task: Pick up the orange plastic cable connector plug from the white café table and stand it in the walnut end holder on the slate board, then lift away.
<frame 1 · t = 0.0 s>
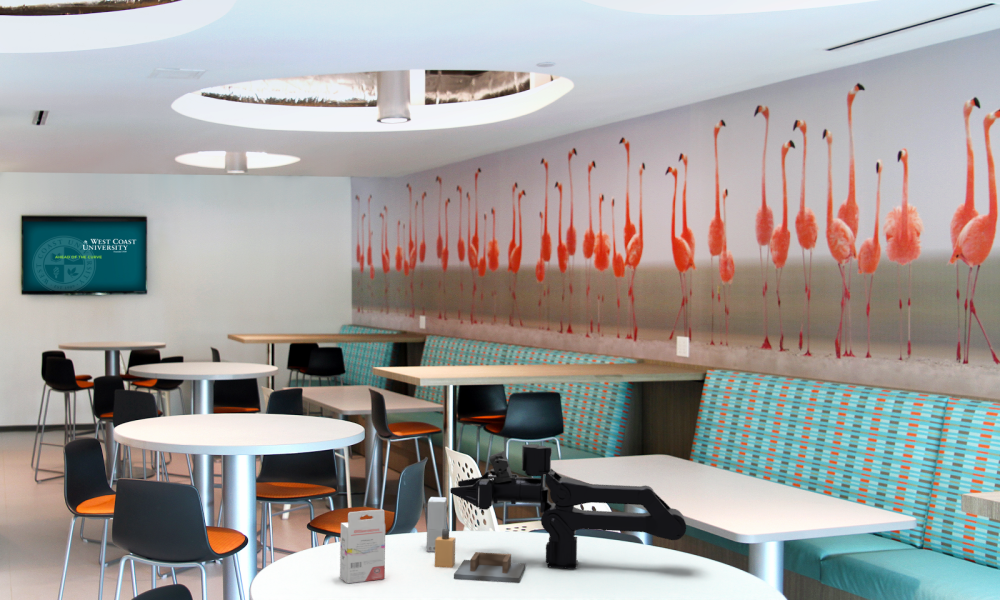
hand: (454, 486, 208), 17 cm above the table, tool horizontal, fingers open, 9 cm apart
connector plug: (444, 565, 202), on the table
skincare box: (436, 550, 216), on the table
end holder: (490, 573, 196), on the table
ink cartridge box: (361, 579, 190), on the table
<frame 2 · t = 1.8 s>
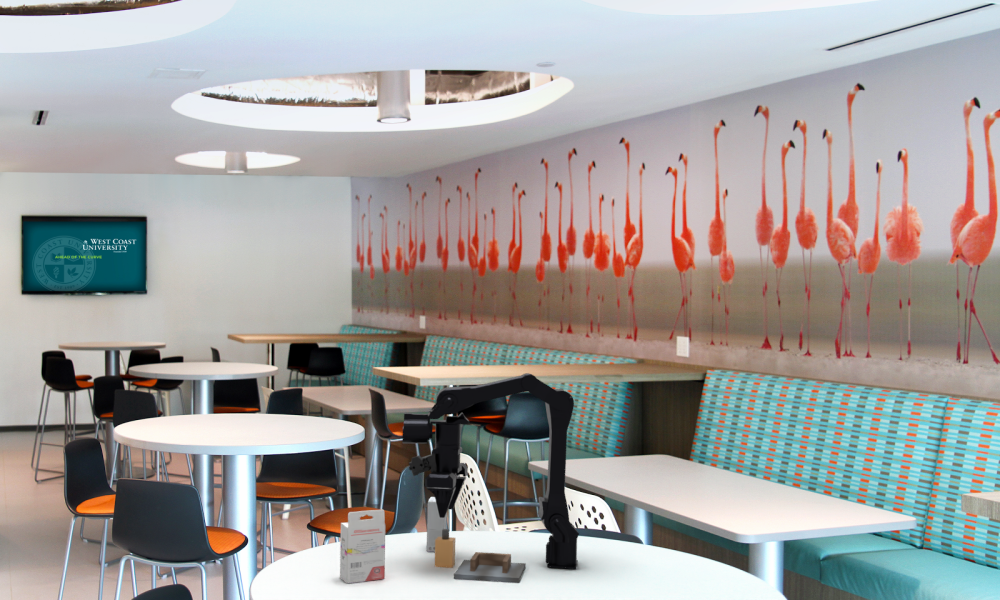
hand: (446, 513, 202), 12 cm above the table, tool pointing down, fingers open, 9 cm apart
nothing on the table moved.
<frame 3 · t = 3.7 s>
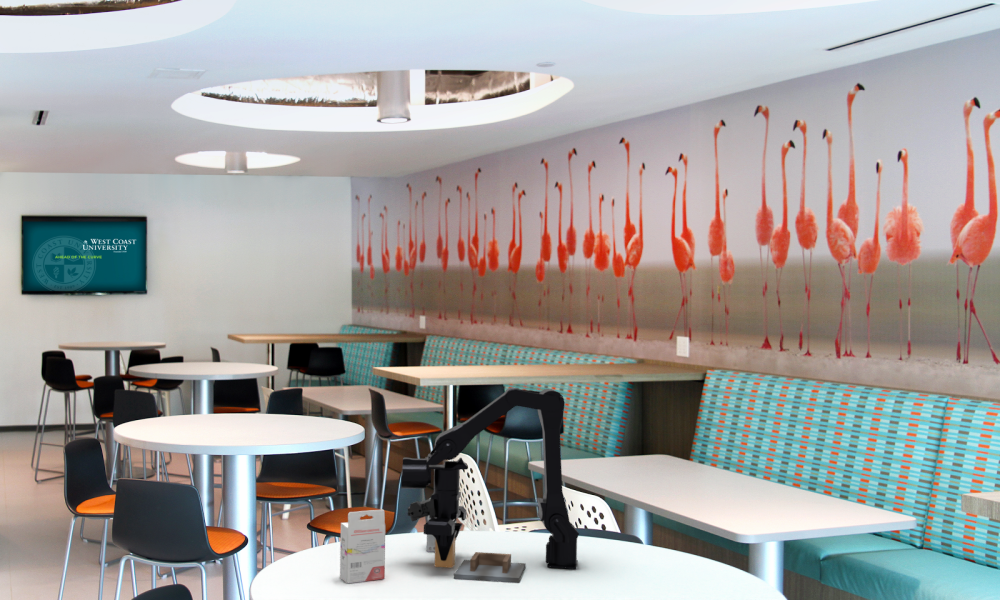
hand: (445, 558, 202), 2 cm above the table, tool pointing down, fingers closed on connector plug, 3 cm apart
connector plug: (444, 565, 202), on the table, touching gripper
everything else where it was.
when the fingers open (4 cm above the table, at t = 8.0 s): connector plug drops 2 cm, resting on end holder.
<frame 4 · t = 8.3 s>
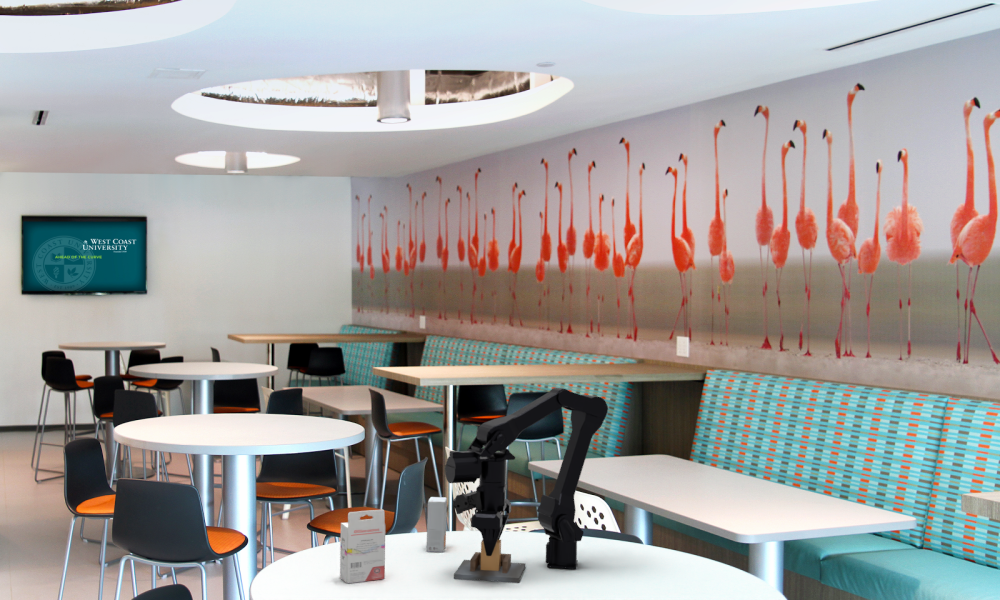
hand: (491, 552, 196), 4 cm above the table, tool pointing down, fingers open, 6 cm apart
connector plug: (490, 568, 196), point 1 cm above the table, touching end holder
everything else where it was.
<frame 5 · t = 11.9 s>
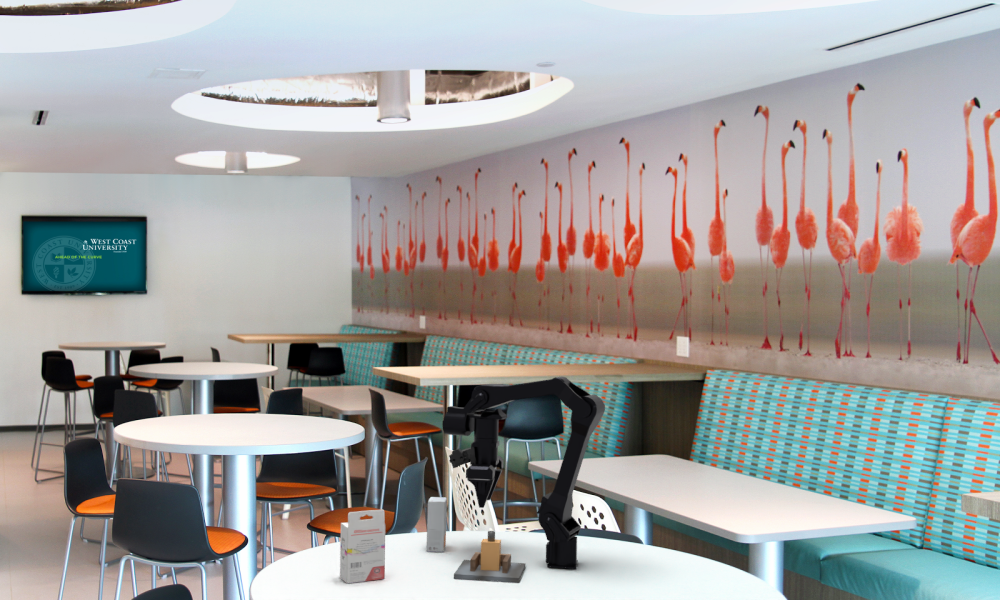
hand: (484, 503, 212), 12 cm above the table, tool pointing down, fingers open, 9 cm apart
nothing on the table moved.
at the end: connector plug 0.2 cm off-centre on the end holder, point 1.0 cm above the end holder's base; connector plug tilted 0°; the gripper is holding nothing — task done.
